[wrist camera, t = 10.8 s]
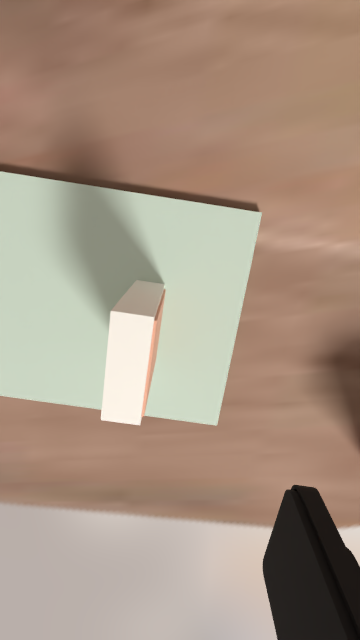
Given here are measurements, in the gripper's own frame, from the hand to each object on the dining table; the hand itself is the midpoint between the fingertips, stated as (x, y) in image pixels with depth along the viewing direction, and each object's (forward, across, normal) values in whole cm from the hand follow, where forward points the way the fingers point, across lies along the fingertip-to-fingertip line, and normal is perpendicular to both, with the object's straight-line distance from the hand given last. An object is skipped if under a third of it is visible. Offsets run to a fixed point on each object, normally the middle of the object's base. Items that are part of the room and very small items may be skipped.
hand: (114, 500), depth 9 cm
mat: (+18, +4, 0) cm, 19 cm away
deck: (+18, +1, 0) cm, 18 cm away
